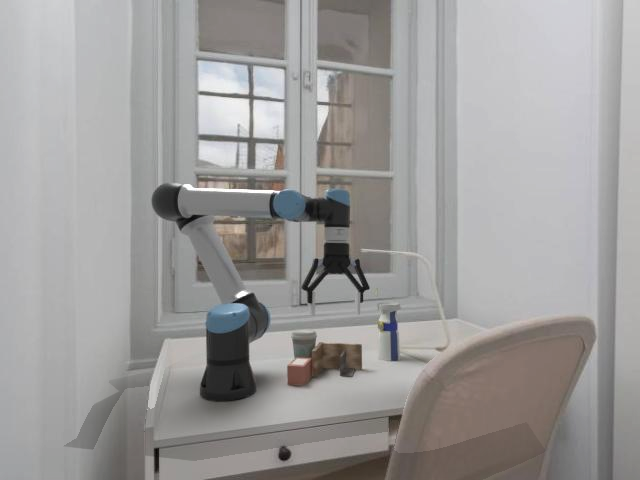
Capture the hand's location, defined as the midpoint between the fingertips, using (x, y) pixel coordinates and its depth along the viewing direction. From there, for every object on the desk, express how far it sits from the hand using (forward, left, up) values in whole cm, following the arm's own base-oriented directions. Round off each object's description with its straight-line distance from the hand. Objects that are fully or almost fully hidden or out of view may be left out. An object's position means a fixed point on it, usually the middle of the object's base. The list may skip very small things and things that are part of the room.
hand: (335, 314), depth 120 cm
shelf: (-1, +9, -20) cm, 22 cm away
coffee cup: (-13, +12, -20) cm, 27 cm away
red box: (-11, 0, -20) cm, 23 cm away
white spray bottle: (+14, +28, -20) cm, 37 cm away
